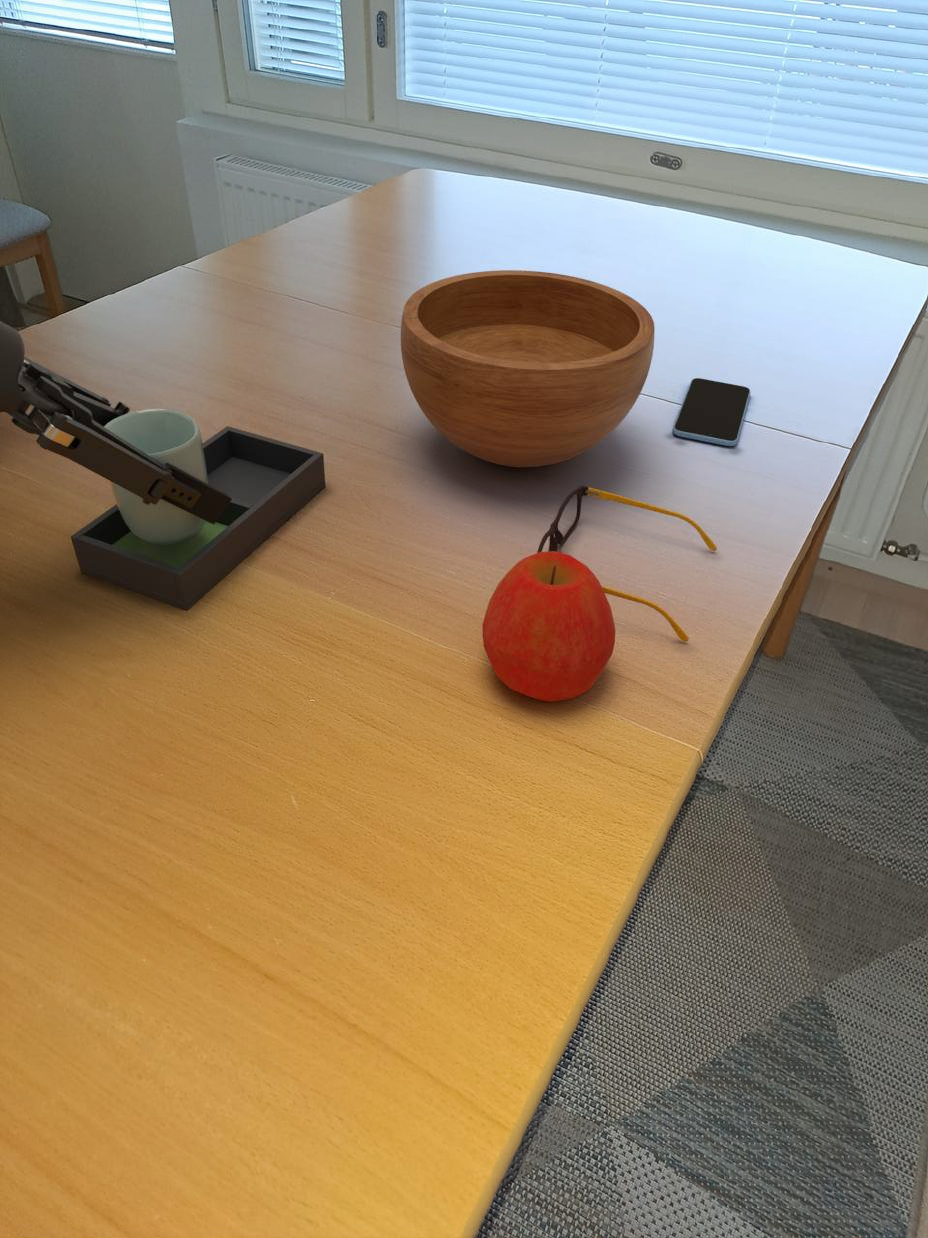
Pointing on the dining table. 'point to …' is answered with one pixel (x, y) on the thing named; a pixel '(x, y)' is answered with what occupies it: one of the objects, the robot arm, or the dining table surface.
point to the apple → (549, 627)
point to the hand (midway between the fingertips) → (200, 486)
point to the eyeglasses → (609, 496)
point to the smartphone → (712, 412)
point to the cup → (166, 442)
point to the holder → (261, 503)
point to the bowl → (525, 362)
